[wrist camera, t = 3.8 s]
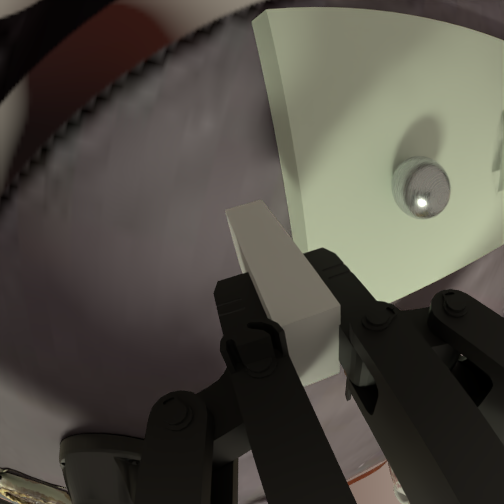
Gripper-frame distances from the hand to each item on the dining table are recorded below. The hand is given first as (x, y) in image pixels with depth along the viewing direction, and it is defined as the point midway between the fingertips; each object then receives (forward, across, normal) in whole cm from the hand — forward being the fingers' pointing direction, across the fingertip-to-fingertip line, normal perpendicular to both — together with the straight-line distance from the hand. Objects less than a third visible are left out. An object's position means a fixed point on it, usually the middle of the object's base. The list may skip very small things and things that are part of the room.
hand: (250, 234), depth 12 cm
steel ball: (0, +9, 0) cm, 9 cm away
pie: (+5, -55, -44) cm, 71 cm away
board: (+4, +17, 0) cm, 17 cm away
